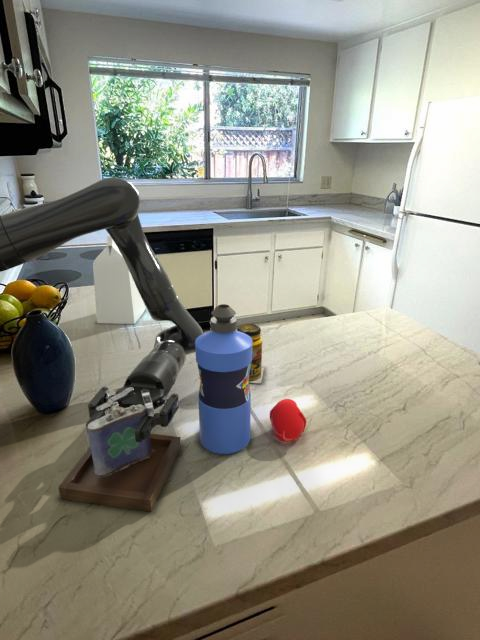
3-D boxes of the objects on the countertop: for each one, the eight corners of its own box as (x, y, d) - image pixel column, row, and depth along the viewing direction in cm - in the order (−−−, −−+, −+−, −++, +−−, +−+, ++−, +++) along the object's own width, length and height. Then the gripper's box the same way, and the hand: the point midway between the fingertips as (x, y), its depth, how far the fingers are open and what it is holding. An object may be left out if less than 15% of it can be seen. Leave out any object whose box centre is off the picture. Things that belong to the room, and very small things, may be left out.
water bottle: (193, 451, 69) (186, 315, 59) (205, 419, 77) (201, 295, 68) (247, 457, 67) (249, 318, 58) (253, 423, 76) (256, 298, 67)
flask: (98, 481, 60) (87, 420, 56) (92, 469, 62) (81, 411, 58) (155, 455, 65) (148, 398, 61) (147, 446, 67) (141, 390, 63)
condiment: (261, 384, 89) (262, 334, 85) (223, 380, 91) (223, 332, 86) (264, 368, 96) (265, 322, 92) (229, 365, 97) (229, 319, 93)
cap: (310, 445, 70) (312, 416, 68) (277, 449, 69) (278, 420, 67) (296, 418, 78) (298, 391, 75) (266, 421, 77) (267, 394, 74)
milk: (110, 309, 133) (100, 230, 124) (144, 310, 133) (138, 230, 123) (97, 323, 122) (85, 237, 112) (134, 323, 122) (126, 237, 112)
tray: (60, 498, 59) (58, 487, 58) (105, 438, 72) (103, 428, 71) (151, 512, 57) (150, 500, 56) (180, 447, 70) (180, 436, 69)
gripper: (115, 356, 74) (64, 408, 59) (190, 363, 72) (158, 418, 57) (119, 391, 77) (72, 449, 62) (192, 398, 75) (162, 460, 59)
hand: (113, 434), depth 59 cm, fingers closed on flask, 7 cm apart
